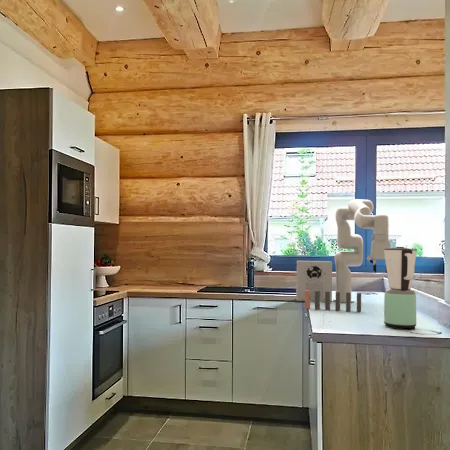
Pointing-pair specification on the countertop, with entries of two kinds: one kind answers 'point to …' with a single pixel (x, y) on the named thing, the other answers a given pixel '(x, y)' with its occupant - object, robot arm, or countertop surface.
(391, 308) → the juicer
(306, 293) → the domino
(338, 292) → the domino
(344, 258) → the robot arm
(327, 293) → the domino
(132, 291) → the countertop surface
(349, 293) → the domino
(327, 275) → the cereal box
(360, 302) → the domino
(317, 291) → the domino
